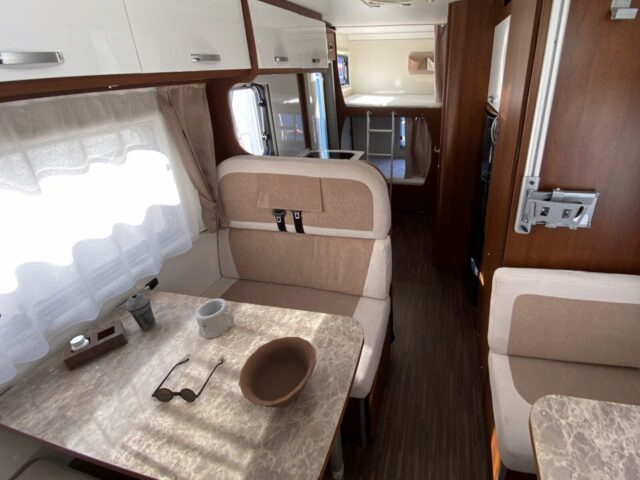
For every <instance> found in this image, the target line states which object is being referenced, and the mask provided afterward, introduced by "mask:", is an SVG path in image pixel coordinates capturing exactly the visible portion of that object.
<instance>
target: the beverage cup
mask: <svg viewBox="0 0 640 480" xmlns="http://www.w3.org/2000/svg"><path fill="white" fill-rule="evenodd" d="M132 285H133V289H134V294H133V295H131V296H130V297H129V298H128V300H127V301H126V311H127V312H128V313H129V314H130V315H131V316H132V318H133V319H134V321H135V323H136V324H137V325H138V327H139V329H141V331H142V332H149V331H151V330H153V329H154V328H155V327H156V326H157V322H156V320H155V315H154V312H153V308H152V306H151V298H150V297H149V296H148V295H147V294H144V293H138V291H137V288H136V284H135V283H134V284H132Z"/></svg>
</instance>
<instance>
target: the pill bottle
mask: <svg viewBox="0 0 640 480" xmlns="http://www.w3.org/2000/svg"><path fill="white" fill-rule="evenodd" d="M84 336H85V335H78V336H76V337H74V338H72V339H71V340H70V341H69V342H70V343H71V345H72V350H73V352H75V351H77V350H80V349H82V348H84V347H86V346H88V345H90V343H89V341H88V340H86V339H85V338H84Z"/></svg>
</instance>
